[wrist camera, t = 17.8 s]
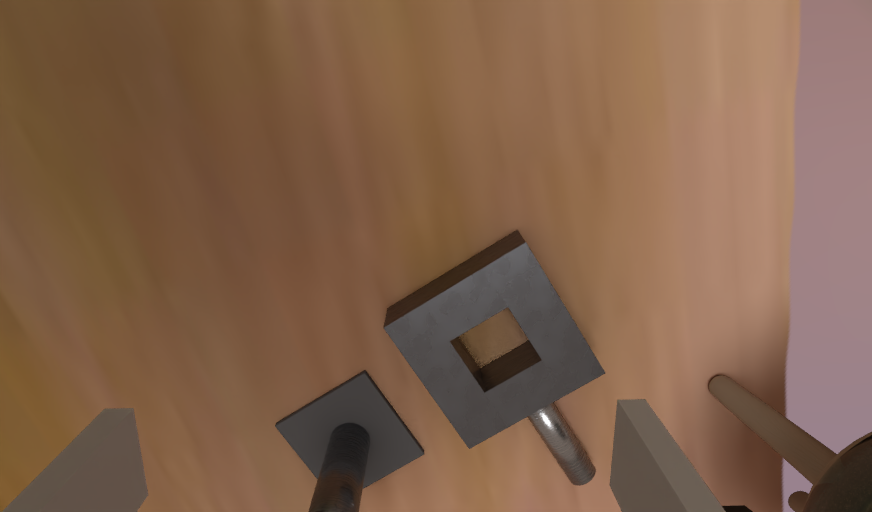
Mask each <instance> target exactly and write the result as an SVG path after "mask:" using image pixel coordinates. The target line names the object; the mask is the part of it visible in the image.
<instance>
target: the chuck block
mask: <svg viewBox="0 0 872 512" xmlns="http://www.w3.org/2000/svg"><path fill="white" fill-rule="evenodd" d="M507 307H508V308H509V309H510V311H511V312H512V314H513V315H514V317H515V319H516V320H517V322H518V323H519V325H520V326H521V328H522V330H523V331H524V333H525V334H526V336H527V337H528V339H529V341H528V342H526V343H524V344H522V345H521V346H519V347H517V348H515V349H514V350H512V351H510V352H508V353H507V354H505V355H503V356H502V357H500V358H498V359H496V360H495V361H493V362H491V363H489V364H488V365H486V366H484V367H482V368H481V369H480V368H479V367H478V365H477V364H476V362H475V361H474V359H473V358H472V356H471V355H470V353H469V352H468V350H467V349H466V347H465V346H464V344H463V343H462V341H461V340H460V339H459V337H458V336H460V335H461V334H463V333H465V332H466V331H468V330H470V329H471V328H473V327H475V326H477V325H478V324H480V323H482V322H483V321H485V320H487V319H488V318H490V317H492V316H494V315H495V314H497V313H499V312H500V311H502V310H504V309H505V308H507ZM384 329H385V331H386V332H387V333H388V335H389V336H390V338H391V339H392V341H393V342H394V343H395V345H396V346H397V348H398V349H399V350H400V352H401V353H402V355H403V356H404V357H405V359H406V360H407V362H408V363H409V365H410V366H411V367H412V369H413V370H414V372H415V373H416V374H417V376H418V377H419V379H420V380H421V382H422V383H423V384H424V386H425V387H426V389H427V390H428V391H429V393H430V394H431V396H432V397H433V398H434V400H435V401H436V403H437V404H438V406H439V407H440V408H441V410H442V411H443V413H444V414H445V415H446V417H447V418H448V420H449V421H450V423H451V424H452V425H453V427H454V428H455V430H456V431H457V432H458V434H459V435H460V437H461V438H462V440H463V441H464V442H465V444H466V445H467V447H468V448H469V449H470V448H472V447H474V446H475V445H477V444H479V443H481V442H483V441H484V440H486V439H488V438H490V437H492V436H493V435H495V434H497V433H499V432H501V431H502V430H504V429H506V428H508V427H510V426H511V425H513V424H515V423H517V422H519V421H520V420H522V419H524V418H526V417H528V418H529V420H530V421H531V423H532V424H533V426H534V427H535V429H536V430H537V432H538V433H539V435H540V436H541V438H542V439H543V441H544V442H545V444H546V445H547V447H548V448H549V450H550V451H551V453H552V454H553V456H554V457H555V459H556V460H557V462H558V463H559V465H560V466H561V468H562V469H563V471H564V472H565V474H566V475H567V477H568V479H569V480H570V482H571V483H572V484H574V485H584V484H586V483H588V482H589V481H590V480H591V479H592V478H593V477H594V475H595V472H596V469H595V466H594V465H593V463H592V462H591V460H590V459H589V457H588V456H587V454H586V453H585V451H584V449H583V448H582V446H581V445H580V443H579V442H578V440H577V439H576V437H575V435H574V434H573V432H572V431H571V429H570V428H569V426H568V425H567V423H566V422H565V420H564V418H563V417H562V415H561V414H560V412H559V411H558V409H557V408H556V406H555V404H554V403H553V402H554V401H556V400H558V399H560V398H562V397H563V396H565V395H567V394H569V393H571V392H572V391H574V390H576V389H578V388H580V387H581V386H583V385H585V384H587V383H589V382H590V381H592V380H594V379H596V378H598V377H599V376H601V375H603V374H605V372H604V370H603V368H602V367H601V365H600V363H599V362H598V360H597V358H596V357H595V355H594V353H593V352H592V350H591V349H590V347H589V345H588V344H587V342H586V340H585V339H584V337H583V335H582V334H581V332H580V330H579V329H578V327H577V326H576V324H575V322H574V321H573V319H572V317H571V316H570V314H569V312H568V311H567V309H566V307H565V306H564V304H563V303H562V301H561V299H560V298H559V296H558V294H557V293H556V291H555V289H554V288H553V286H552V284H551V283H550V281H549V279H548V278H547V276H546V275H545V273H544V271H543V270H542V268H541V266H540V265H539V263H538V261H537V260H536V258H535V256H534V255H533V253H532V252H531V250H530V248H529V247H528V245H527V243H526V242H525V240H524V239H523V237H522V236H521V234H520V233H519V231H518V230H516V231H514V232H513V233H511V234H509V235H508V236H506V237H505V238H503V239H501V240H500V241H498V242H496V243H495V244H493V245H491V246H490V247H488V248H486V249H485V250H483V251H481V252H480V253H478V254H477V255H475V256H473V257H472V258H470V259H468V260H467V261H465V262H463V263H462V264H460V265H458V266H457V267H455V268H453V269H452V270H450V271H448V272H447V273H445V274H444V275H442V276H440V277H439V278H437V279H435V280H434V281H432V282H430V283H429V284H427V285H425V286H424V287H422V288H420V289H419V290H417V291H416V292H414V293H412V294H411V295H409V296H407V297H406V298H404V299H402V300H401V301H399V302H397V303H396V304H394V305H392V306H391V307H389V308H388V309H387V313H386V318H385V323H384Z"/></svg>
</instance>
